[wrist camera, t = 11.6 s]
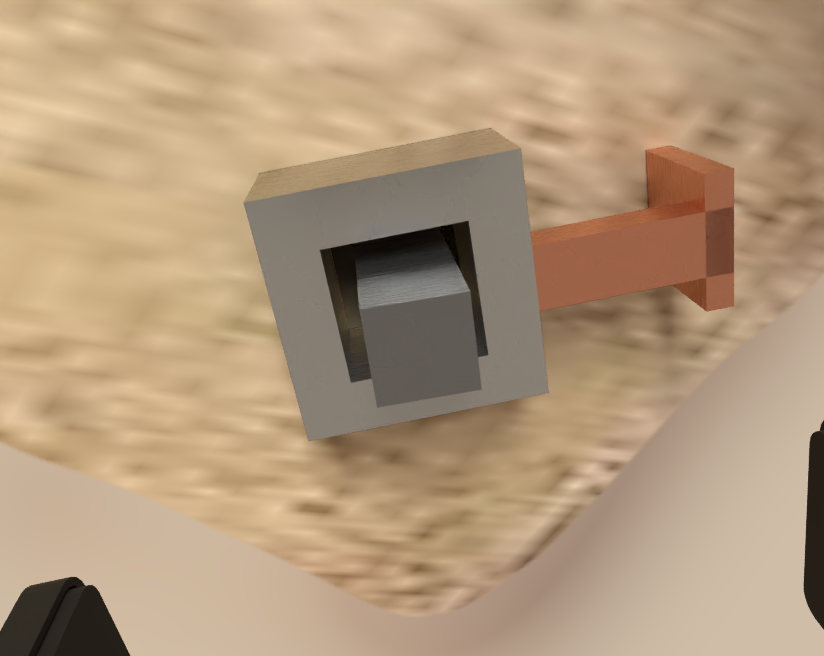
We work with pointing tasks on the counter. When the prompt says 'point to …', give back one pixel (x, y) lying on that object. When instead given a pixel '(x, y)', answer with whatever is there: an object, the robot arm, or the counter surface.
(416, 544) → the counter surface
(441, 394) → the square peg
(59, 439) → the counter surface
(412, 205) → the square sleeve with handle
